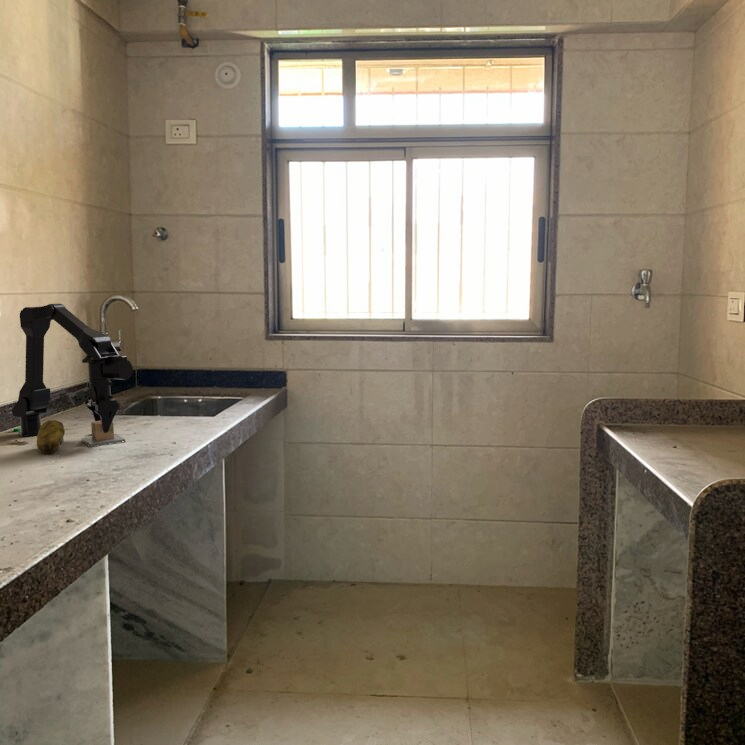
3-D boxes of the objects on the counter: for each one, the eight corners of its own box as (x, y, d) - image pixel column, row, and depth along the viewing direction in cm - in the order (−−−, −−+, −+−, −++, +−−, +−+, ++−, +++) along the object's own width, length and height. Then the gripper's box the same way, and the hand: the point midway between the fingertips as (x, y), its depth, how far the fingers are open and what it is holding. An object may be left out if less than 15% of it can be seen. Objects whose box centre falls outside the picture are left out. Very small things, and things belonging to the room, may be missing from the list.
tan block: (92, 438, 212) (91, 421, 211) (109, 436, 215) (108, 419, 214) (96, 441, 208) (95, 424, 207) (114, 438, 211) (113, 422, 210)
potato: (25, 456, 194) (23, 427, 193) (46, 445, 207) (44, 418, 206) (55, 455, 194) (53, 426, 193) (74, 445, 207) (73, 417, 206)
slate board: (81, 440, 212) (81, 438, 212) (115, 436, 218) (115, 433, 218) (90, 446, 204) (89, 444, 204) (125, 441, 210) (125, 439, 210)
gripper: (62, 377, 212) (66, 429, 214) (78, 384, 197) (81, 439, 199) (101, 374, 218) (104, 424, 220) (119, 380, 203) (122, 434, 205)
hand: (102, 430), depth 211 cm, fingers open, 7 cm apart
